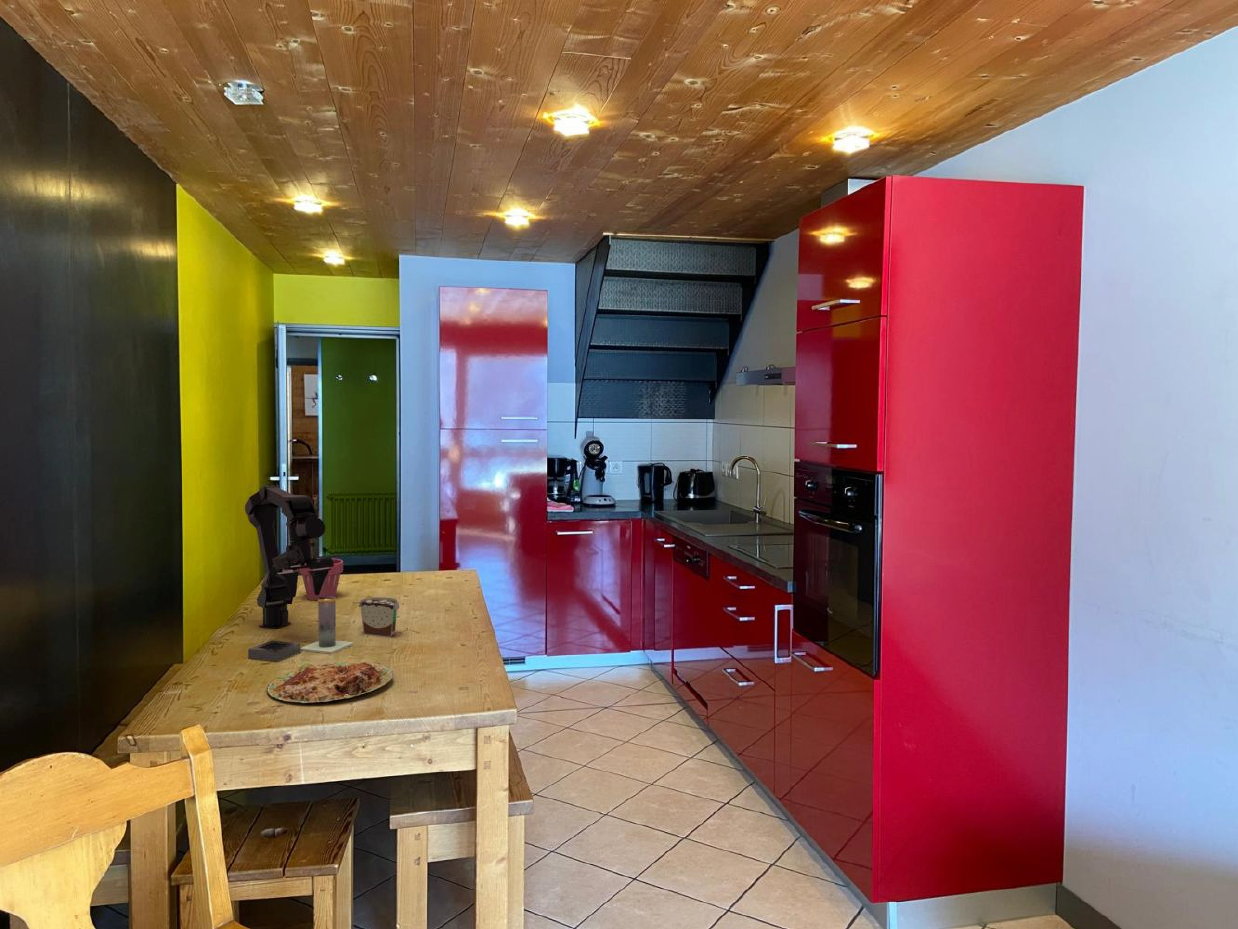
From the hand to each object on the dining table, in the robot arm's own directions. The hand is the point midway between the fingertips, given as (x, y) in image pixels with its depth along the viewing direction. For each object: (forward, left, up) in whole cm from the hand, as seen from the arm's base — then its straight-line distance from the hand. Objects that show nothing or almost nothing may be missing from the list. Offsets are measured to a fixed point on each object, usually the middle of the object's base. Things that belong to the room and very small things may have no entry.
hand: (305, 596), depth 239 cm
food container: (+17, +12, -12) cm, 24 cm away
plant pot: (-29, +46, -12) cm, 56 cm away
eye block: (+3, -17, -12) cm, 21 cm away
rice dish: (+32, -33, -13) cm, 47 cm away
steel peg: (+11, -6, -12) cm, 17 cm away
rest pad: (+11, -6, -12) cm, 17 cm away
